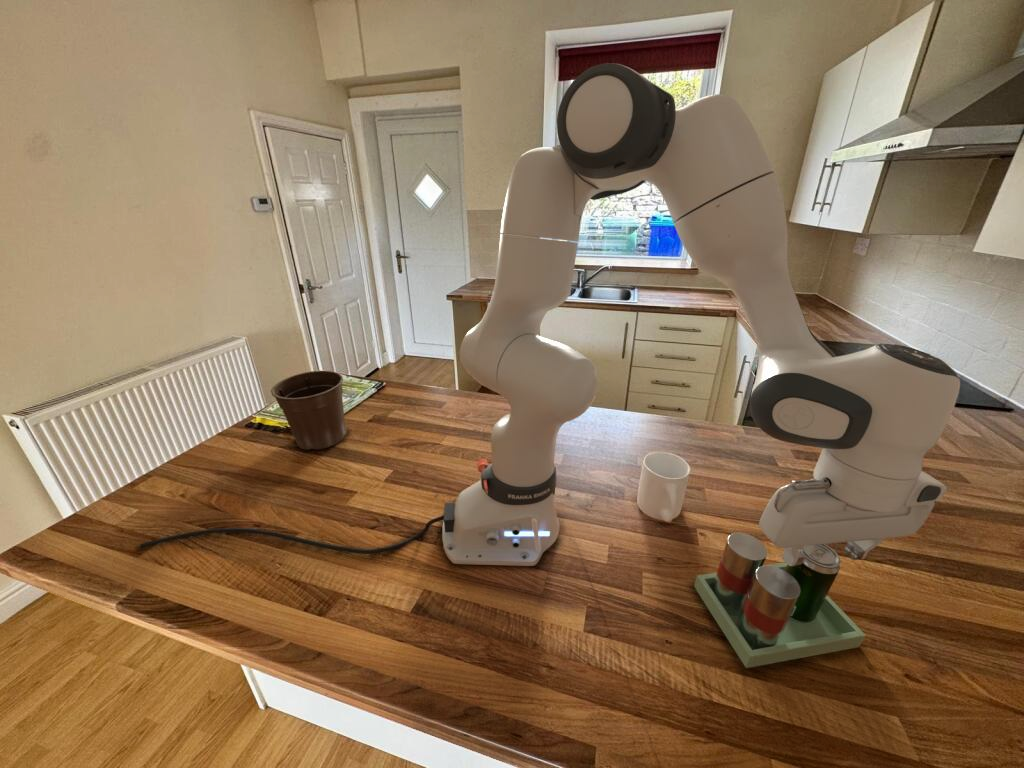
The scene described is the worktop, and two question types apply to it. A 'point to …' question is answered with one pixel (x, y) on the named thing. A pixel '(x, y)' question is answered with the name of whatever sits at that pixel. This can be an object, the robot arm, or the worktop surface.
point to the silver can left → (738, 571)
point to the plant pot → (313, 408)
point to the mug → (662, 485)
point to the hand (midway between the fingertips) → (822, 558)
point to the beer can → (813, 580)
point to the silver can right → (767, 607)
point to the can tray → (785, 630)
